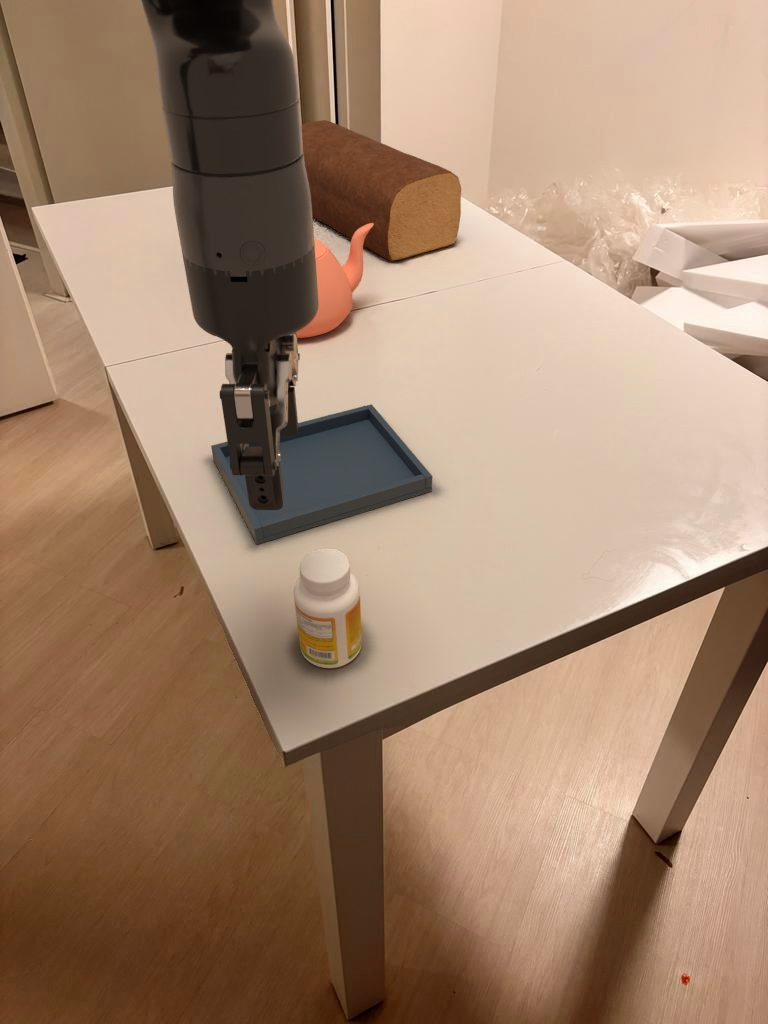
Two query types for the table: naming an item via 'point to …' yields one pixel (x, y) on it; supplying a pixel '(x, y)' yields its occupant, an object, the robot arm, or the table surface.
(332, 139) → the bread
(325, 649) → the supplement bottle
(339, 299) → the teapot
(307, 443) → the tray
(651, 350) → the table surface
